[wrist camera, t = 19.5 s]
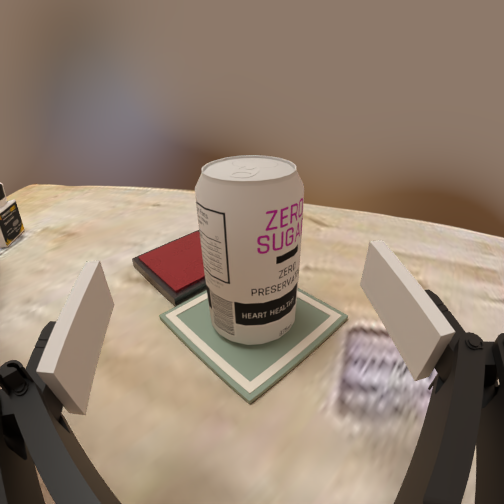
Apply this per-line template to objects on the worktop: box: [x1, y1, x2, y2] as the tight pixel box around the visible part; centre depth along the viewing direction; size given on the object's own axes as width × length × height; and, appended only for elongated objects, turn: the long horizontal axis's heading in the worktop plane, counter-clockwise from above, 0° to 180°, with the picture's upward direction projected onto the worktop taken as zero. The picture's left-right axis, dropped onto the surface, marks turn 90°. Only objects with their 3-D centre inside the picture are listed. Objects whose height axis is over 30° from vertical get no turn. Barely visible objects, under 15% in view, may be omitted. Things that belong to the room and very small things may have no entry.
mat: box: [159, 288, 348, 404], centre depth 30 cm, size 14×14×1 cm
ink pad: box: [132, 230, 207, 307], centre depth 39 cm, size 11×11×2 cm
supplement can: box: [195, 155, 304, 345], centre depth 26 cm, size 8×8×15 cm
